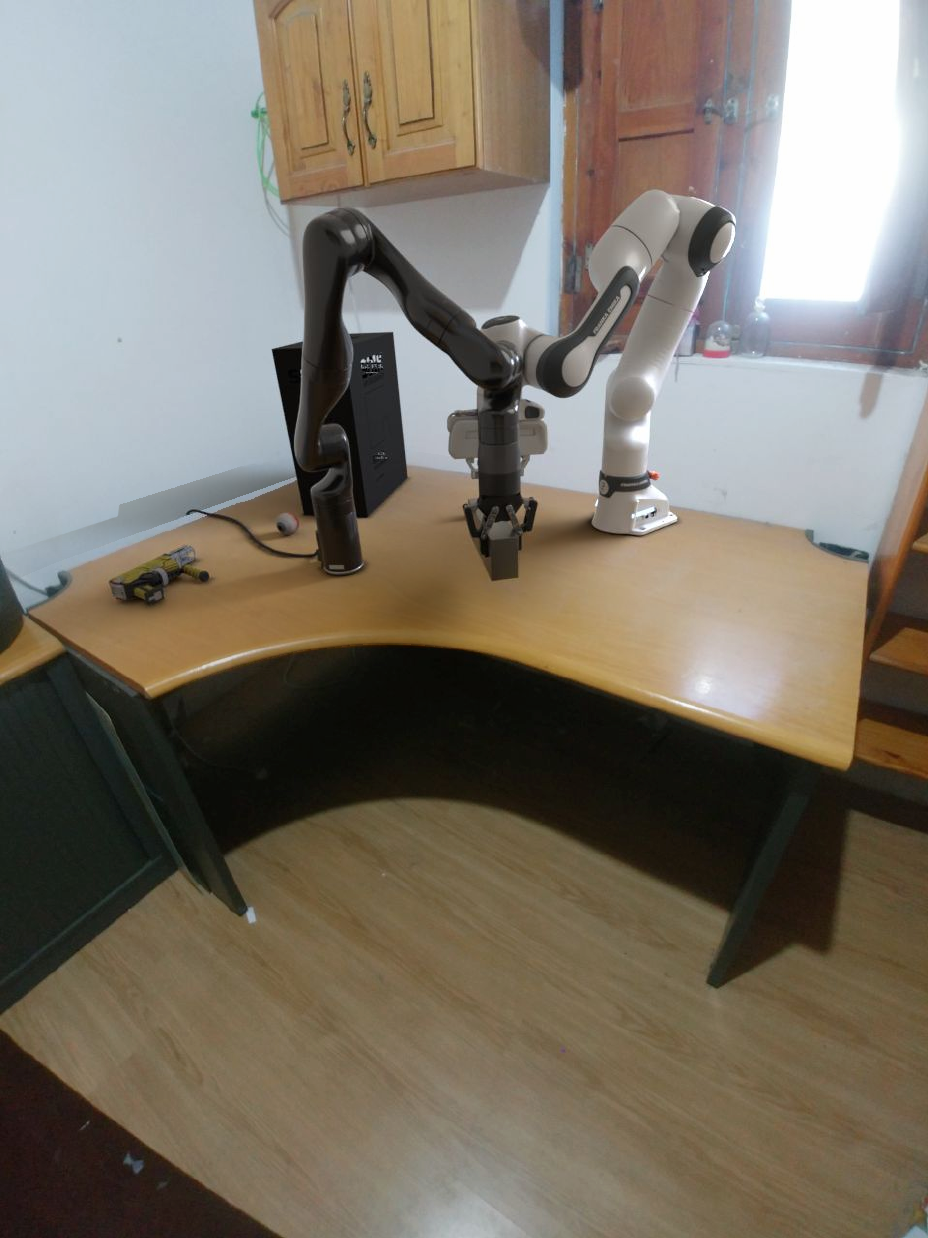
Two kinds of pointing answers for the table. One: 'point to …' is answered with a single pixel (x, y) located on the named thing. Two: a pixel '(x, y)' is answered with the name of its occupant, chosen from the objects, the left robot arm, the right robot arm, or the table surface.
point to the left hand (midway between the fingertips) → (501, 553)
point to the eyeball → (287, 523)
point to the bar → (498, 548)
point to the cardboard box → (355, 420)
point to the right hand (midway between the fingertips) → (497, 477)
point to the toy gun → (155, 576)
